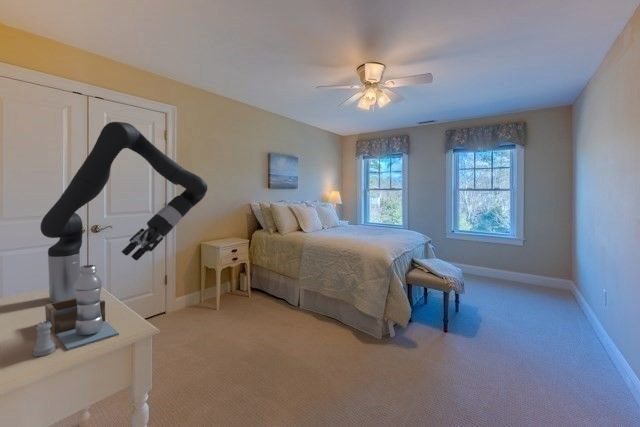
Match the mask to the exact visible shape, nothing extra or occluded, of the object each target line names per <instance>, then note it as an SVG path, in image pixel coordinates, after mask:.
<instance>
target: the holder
mask: <svg viewBox="0 0 640 427" xmlns="http://www.w3.org/2000/svg"><path fill="white" fill-rule="evenodd" d="M44 306H45V307H44V308H45V321H46V323H47V321H50V323H51V324H52V326H51V328H50V330H51V332H52V333H53V335H54V336H57V334H58V333H62V332H66V331H69V330H73V329H75V322H76V318H77V299H76V298H74V299H69V300H64V301H59V302H50V303H45V305H44ZM100 310H101V316H102V320H103V321H106V301H105V300H104V299H103V300H101V299H100Z"/></svg>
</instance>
